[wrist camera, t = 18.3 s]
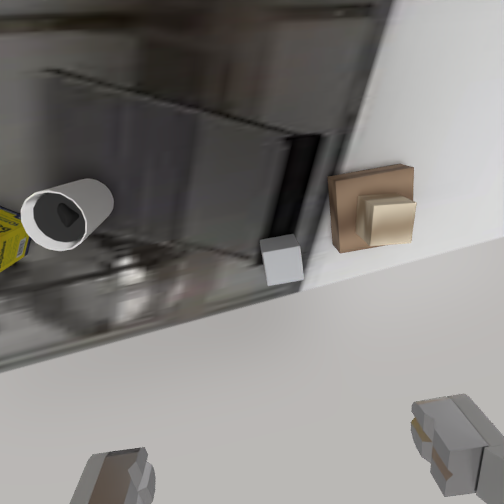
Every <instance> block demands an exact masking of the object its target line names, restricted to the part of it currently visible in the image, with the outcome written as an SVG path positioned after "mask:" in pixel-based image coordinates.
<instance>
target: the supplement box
mask: <svg viewBox="0 0 504 504" xmlns="http://www.w3.org/2000/svg"><path fill="white" fill-rule="evenodd" d="M30 239H31V237H30V236H29V235H28V234H27V233H26V231H25V229H24V227H23V224H22V222H21V214H18V213H15V212H13V211H10V210H8V209H5V208H3V207H0V272H1V271H3V270H4V269H6V268H7V267H9V266H10V265H12V264H13V263H15V262H17V261H18V260H20V259H21V258H23V257H24V256H26V255H27V251H28V248H29V243H30Z"/></svg>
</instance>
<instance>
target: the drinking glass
mask: <svg viewBox="0 0 504 504" xmlns="http://www.w3.org/2000/svg"><path fill="white" fill-rule="evenodd" d="M113 205H114V199H113V196H112V194H111V191H110V190H109V189H108V188H107V187H106V185H104V184H103V183H101V182H99V181H98V180H94V179H89V178H87V179H82V180H78V181H74V182H71V183H67V184H64V185H60V186H57V187H53V188H50V189H46V190H42V191H39V192H35V193H34V194H32V195H31V196H30V197H28V198H27V199H26V200H25V202H24V204H23V206H22V208H21V222H22V224H23V227H24V229H25V231H26V233H27V234H28V235H29V236H30V237H31V238H32V239H33V240H34V241H35V242H36V243H37V244H39V245H41V246H43V247H45V248H47V249H51V250H57V251H64V250H70V249H73V248H75V247H76V246H77V245H79V244H80V243H82V242H83V241H84V240H85V239H86V238H87V237H88V236H89V235H90V234H91V233H92V232H93V231H94V230H95V229H96V228H97V227H98V226H99V225H100V224H101V223H102V222H103V221H104V220H105V219H106V218H107V217H108V216H109V215H110V213H111V212H112V210H113Z"/></svg>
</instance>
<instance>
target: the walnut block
mask: <svg viewBox="0 0 504 504" xmlns="http://www.w3.org/2000/svg"><path fill="white" fill-rule="evenodd" d="M413 181H414V167H410V166H406V165H403V164H396V165H391V166H385V167H379V168H374V169H368V170H362V171H357V172H351V173H346V174H340V175H334V176H329V177H328V188H329V202H330V215H331V229H332V243H333V245H334V246H335V248H336V249H337V250H338V251H339V253H345V252H351V251H356V250H362V249H368V248H373V247H379V246H369V245H368V244H367V243H366V242H365V241H364V240H363V239H362V238H361V237H360V236H359V235H357V234H356V233H355V231H356V217H357V203H358V196H364V195H378V194H392V193H397V194H399V195H401V196H403V197H405V198H408V199H410V200H412V201H413ZM411 241H412V239H411ZM380 246H385V245H380Z"/></svg>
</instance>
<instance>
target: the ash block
mask: <svg viewBox="0 0 504 504" xmlns="http://www.w3.org/2000/svg"><path fill="white" fill-rule="evenodd" d="M416 204H417V203H416V202H414V201H412V200H410V199H408V198H405V197H403V196H401V195H399V194H397V193H392V194H378V195H364V196H358V203H357V217H356V231H355V233H356V234H357V235H359V236H360V237H361V238H362V239H363V240H364V241H365V242H366V243H367V244H368V245H369V246H380V245H393V244H406V243H411V239H412V232H413V225H414V218H415V211H416Z"/></svg>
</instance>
